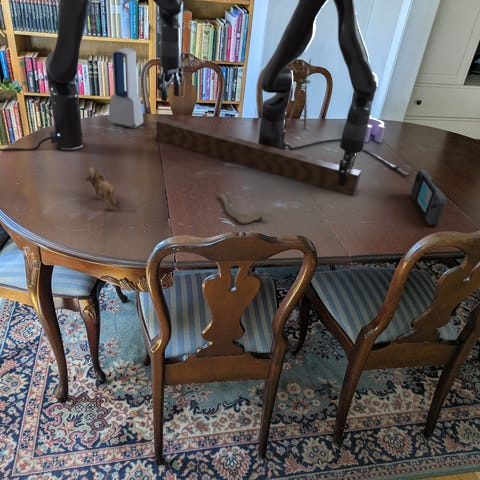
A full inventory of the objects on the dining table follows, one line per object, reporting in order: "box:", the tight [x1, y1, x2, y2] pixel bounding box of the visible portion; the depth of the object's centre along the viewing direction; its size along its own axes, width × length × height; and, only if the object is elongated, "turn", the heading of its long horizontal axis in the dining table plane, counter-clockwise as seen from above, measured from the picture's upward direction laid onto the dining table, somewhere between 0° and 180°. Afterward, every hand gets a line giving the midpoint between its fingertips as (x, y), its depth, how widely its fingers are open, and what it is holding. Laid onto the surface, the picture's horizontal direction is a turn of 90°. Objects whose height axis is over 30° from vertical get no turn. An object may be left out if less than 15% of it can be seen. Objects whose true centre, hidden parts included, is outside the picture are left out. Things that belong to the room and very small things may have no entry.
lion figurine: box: [82, 167, 121, 211], centre depth 139 cm, size 15×5×9 cm, turn 50°
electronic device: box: [108, 47, 144, 129], centre depth 190 cm, size 12×8×30 cm, turn 71°
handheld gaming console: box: [410, 169, 447, 227], centre depth 153 cm, size 23×3×10 cm, turn 178°
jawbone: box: [218, 193, 271, 225], centre depth 143 cm, size 9×20×2 cm, turn 50°
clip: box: [364, 114, 386, 143], centre depth 214 cm, size 20×12×7 cm, turn 11°
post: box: [156, 117, 362, 197], centre depth 174 cm, size 81×5×8 cm, turn 64°
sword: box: [362, 148, 410, 177], centre depth 189 cm, size 31×3×1 cm, turn 26°
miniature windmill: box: [286, 57, 312, 130], centre depth 210 cm, size 9×8×30 cm
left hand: (170, 98), depth 178 cm, fingers open, 8 cm apart
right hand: (343, 181), depth 163 cm, fingers closed on post, 4 cm apart
